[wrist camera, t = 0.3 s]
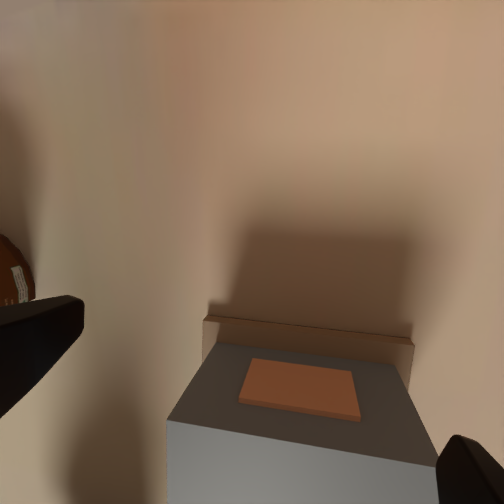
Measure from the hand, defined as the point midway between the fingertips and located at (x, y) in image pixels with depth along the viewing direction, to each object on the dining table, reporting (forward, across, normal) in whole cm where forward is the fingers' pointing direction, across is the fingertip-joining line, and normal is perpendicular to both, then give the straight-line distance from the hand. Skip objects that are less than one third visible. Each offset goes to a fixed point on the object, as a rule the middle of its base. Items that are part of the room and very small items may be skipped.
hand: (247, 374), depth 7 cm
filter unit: (+13, -3, +10) cm, 17 cm away
